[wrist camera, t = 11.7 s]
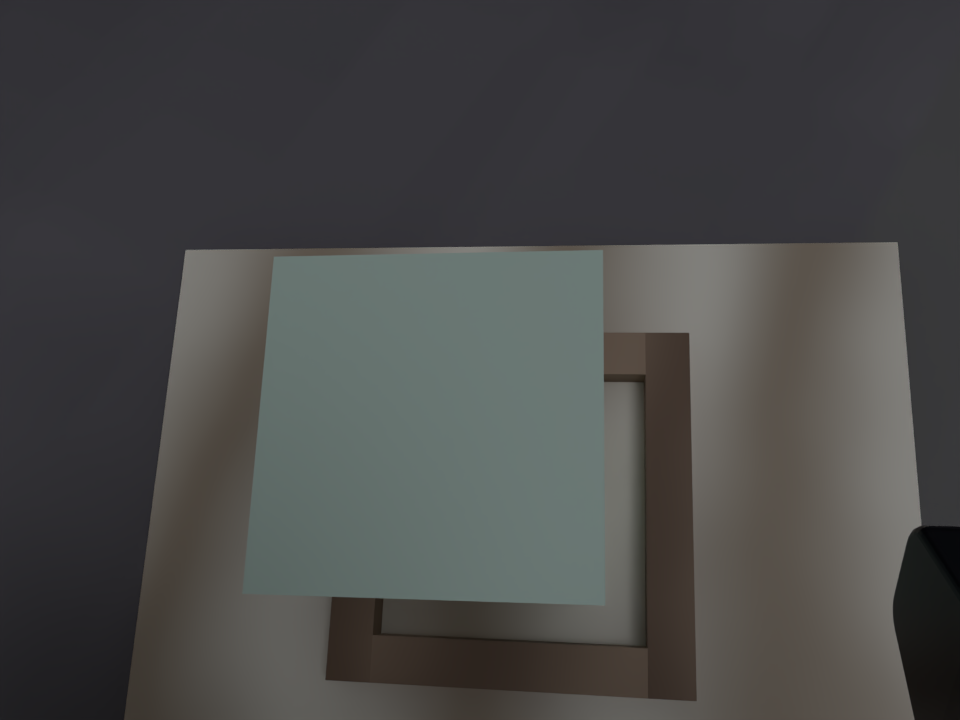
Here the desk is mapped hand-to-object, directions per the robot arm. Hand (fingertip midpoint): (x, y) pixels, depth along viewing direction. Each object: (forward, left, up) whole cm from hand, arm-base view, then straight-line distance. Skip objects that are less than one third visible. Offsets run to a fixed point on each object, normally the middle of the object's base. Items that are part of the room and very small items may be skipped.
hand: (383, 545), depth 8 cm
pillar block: (+1, -1, -13) cm, 13 cm away
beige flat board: (+1, -1, -14) cm, 14 cm away
